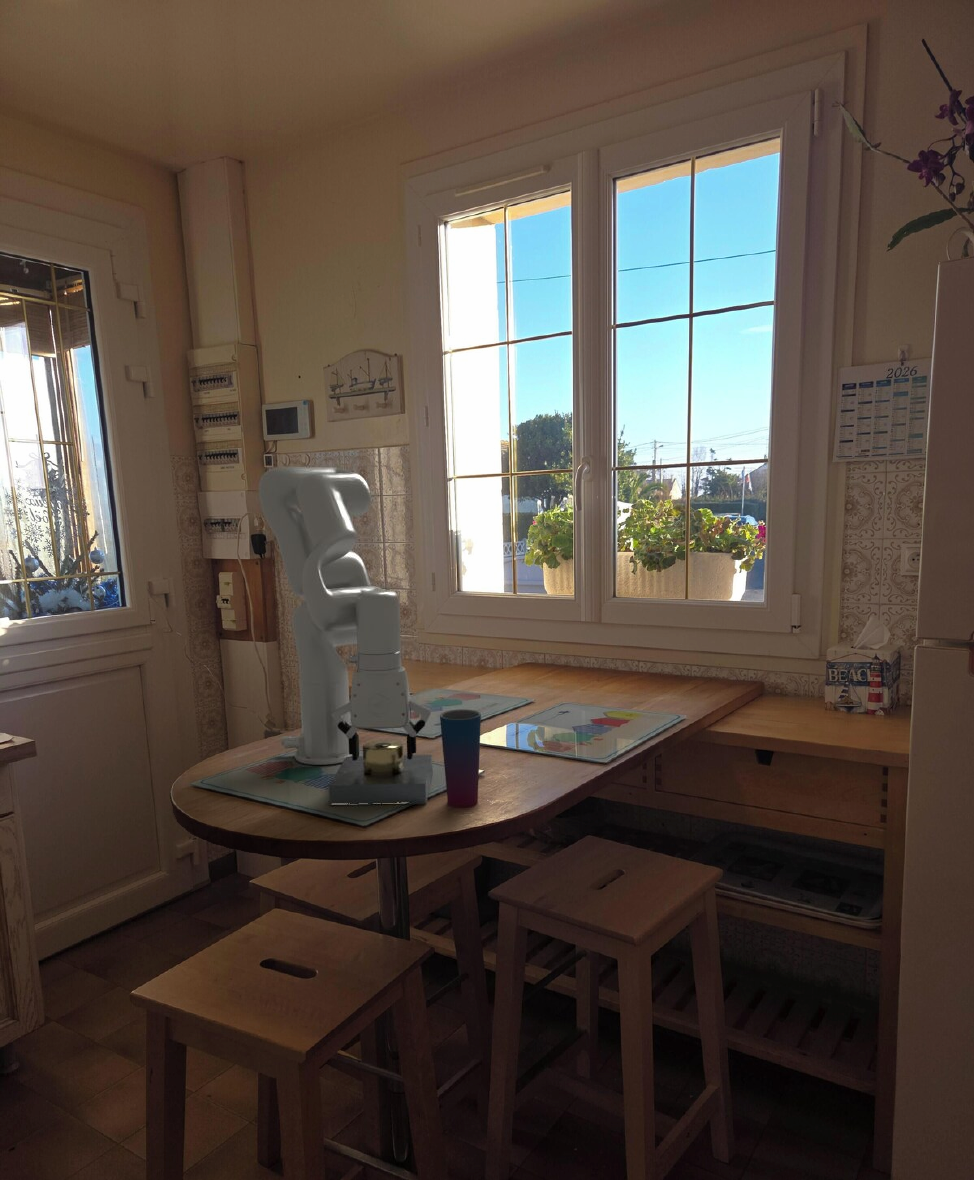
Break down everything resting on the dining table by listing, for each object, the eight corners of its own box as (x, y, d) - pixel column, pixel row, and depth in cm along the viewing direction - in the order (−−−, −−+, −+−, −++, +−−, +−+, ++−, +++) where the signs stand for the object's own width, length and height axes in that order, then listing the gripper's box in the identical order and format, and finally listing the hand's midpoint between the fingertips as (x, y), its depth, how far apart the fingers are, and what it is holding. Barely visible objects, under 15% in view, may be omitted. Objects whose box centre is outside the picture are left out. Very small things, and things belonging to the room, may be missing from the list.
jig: (330, 805, 135) (329, 785, 134) (346, 774, 151) (346, 756, 150) (426, 803, 135) (425, 783, 134) (432, 773, 151) (432, 754, 150)
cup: (491, 801, 135) (489, 713, 134) (463, 812, 130) (461, 721, 129) (462, 792, 140) (459, 707, 139) (433, 803, 135) (431, 715, 134)
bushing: (361, 794, 139) (359, 751, 138) (367, 780, 146) (365, 739, 145) (402, 793, 139) (400, 750, 138) (406, 780, 146) (404, 738, 145)
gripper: (325, 666, 137) (329, 765, 139) (427, 664, 137) (430, 763, 138) (334, 658, 144) (337, 752, 146) (430, 656, 144) (433, 750, 146)
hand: (383, 757), depth 142 cm, fingers open, 9 cm apart
